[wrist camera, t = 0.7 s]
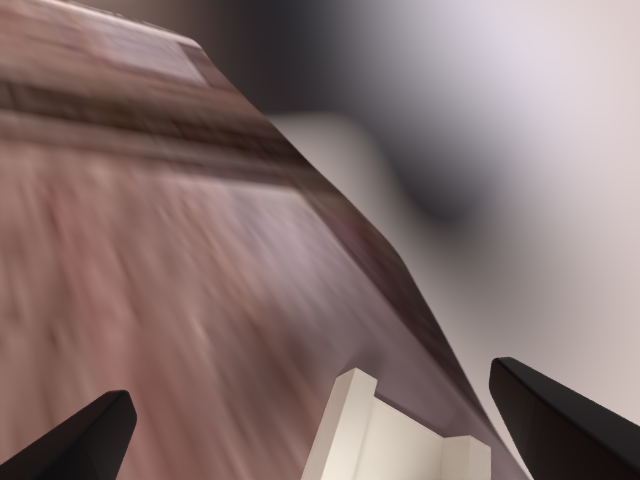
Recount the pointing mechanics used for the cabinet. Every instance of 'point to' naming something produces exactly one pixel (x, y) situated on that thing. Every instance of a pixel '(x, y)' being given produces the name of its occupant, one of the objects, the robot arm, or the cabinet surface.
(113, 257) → the cabinet surface
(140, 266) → the cabinet surface
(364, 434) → the u rest
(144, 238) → the cabinet surface
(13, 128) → the cabinet surface
